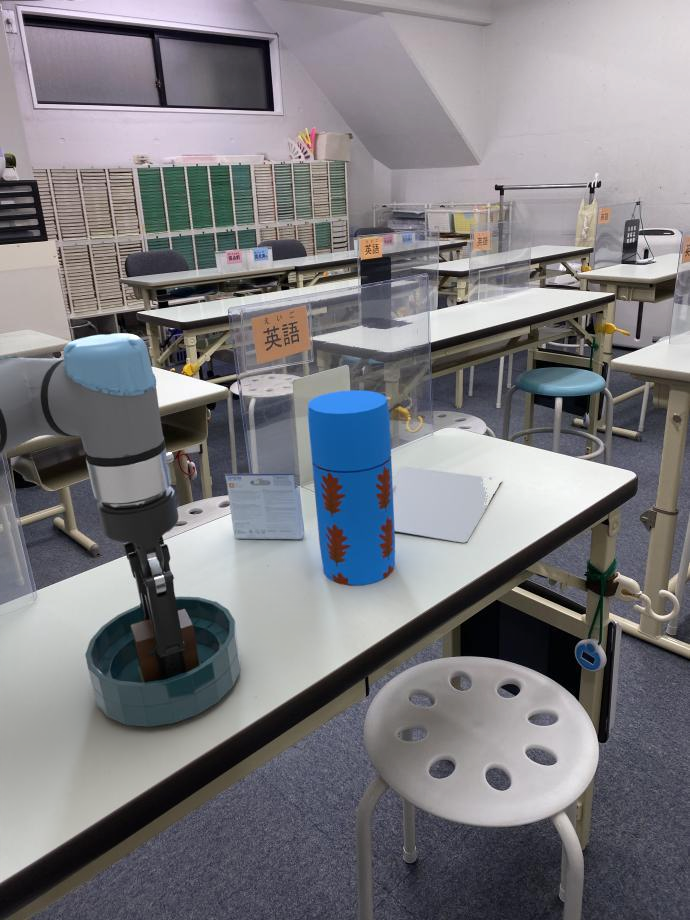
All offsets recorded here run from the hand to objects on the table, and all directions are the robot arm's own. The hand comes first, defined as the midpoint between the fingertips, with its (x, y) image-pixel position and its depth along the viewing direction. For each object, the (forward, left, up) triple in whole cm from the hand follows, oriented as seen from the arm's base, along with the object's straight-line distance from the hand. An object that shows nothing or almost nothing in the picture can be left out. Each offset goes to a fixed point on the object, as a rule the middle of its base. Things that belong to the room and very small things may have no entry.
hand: (172, 682), depth 77 cm
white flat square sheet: (-27, +49, -1) cm, 56 cm away
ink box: (-29, +22, -1) cm, 36 cm away
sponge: (0, 0, 0) cm, 0 cm away
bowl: (-2, 0, -1) cm, 2 cm away
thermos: (-13, +30, -1) cm, 33 cm away
